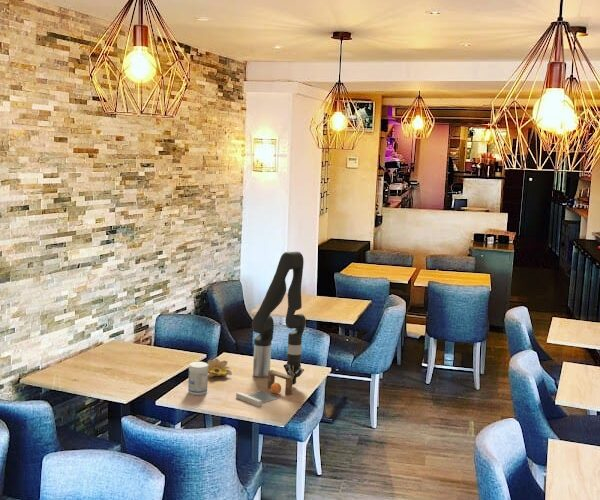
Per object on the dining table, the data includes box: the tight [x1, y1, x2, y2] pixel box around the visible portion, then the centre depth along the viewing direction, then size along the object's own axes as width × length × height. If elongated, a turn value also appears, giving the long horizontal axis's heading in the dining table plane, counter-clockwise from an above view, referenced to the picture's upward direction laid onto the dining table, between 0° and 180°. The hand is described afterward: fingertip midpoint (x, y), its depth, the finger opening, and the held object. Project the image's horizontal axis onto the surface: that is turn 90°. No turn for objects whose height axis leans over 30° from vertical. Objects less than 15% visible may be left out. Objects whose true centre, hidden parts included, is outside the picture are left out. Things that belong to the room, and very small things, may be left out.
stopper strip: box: [235, 391, 263, 407], centre depth 339 cm, size 2×16×2 cm, turn 48°
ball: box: [270, 382, 282, 395], centre depth 351 cm, size 6×6×6 cm
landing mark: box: [248, 390, 281, 405], centre depth 345 cm, size 13×13×1 cm
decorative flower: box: [207, 357, 233, 378], centre depth 373 cm, size 15×11×10 cm
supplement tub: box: [187, 361, 209, 396], centre depth 347 cm, size 10×10×15 cm
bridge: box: [267, 369, 294, 397], centre depth 354 cm, size 3×14×9 cm, turn 48°
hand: (293, 384), depth 362 cm, fingers closed
